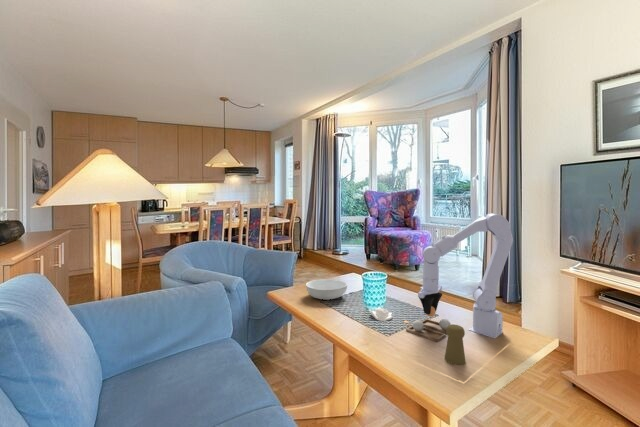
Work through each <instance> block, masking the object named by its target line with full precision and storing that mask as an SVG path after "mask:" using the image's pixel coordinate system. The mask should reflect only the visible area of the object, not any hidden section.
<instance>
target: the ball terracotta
mask: <svg viewBox="0 0 640 427" xmlns="http://www.w3.org/2000/svg"><path fill="white" fill-rule="evenodd" d="M436 313H437V310H436V311H435V308H434V307H432V306H431V312H430V314H429V315H428V314H425V315H426V316H427V317H434V316H435V315H436Z"/></svg>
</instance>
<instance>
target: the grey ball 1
mask: <svg viewBox="0 0 640 427" xmlns="http://www.w3.org/2000/svg"><path fill="white" fill-rule="evenodd" d="M421 321H422V320H419V319H417V320H415V321H413V323H412V324H413V325H412V326H413V328H414V330H416V331H418V332H420V331H422V330H423V329H424V324H423V322H421Z"/></svg>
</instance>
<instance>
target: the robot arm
mask: <svg viewBox="0 0 640 427" xmlns="http://www.w3.org/2000/svg"><path fill="white" fill-rule="evenodd" d="M478 232H479V233H481V232H490V233H491V234H492V236H493V238H494V240H495V244H494V247H493V249H492V253H491V255H490V257H489V260H488V263H487V266H486V269H485V272H484V275H483V277H482V279H481V281H480V282H479V283H478V286H477V287H476V288H475V289H474V290H473V291H472V297H473V299H474V303H473V307H472V327H470V328H468V329H467V331H470V332H473V333H476V334H479V335H483V336H486V337H489V338H492V339H496V338H498V337H499V336H500V335H502V334H503V333H504V331H503V328H504V327H503V325H504V324H503V319H504V317H503V313H502V312H501V311H499V310H497V309H496V306H497V299H496V298H497V294H498V284H499V281H500V279H501V276H502V274H503V270H504V267H505V265H506V262H507V259H508V257H509V255H510V251H511V248H512V246H513V243H514V238H513V233H512V229H511V223H510V222H509V220H507V218H506V217H505V216H504V215H502V214H498V213H493V212H490V213H487V214H485V215H484V216H481V217H479V218H477V219H475V220H474V221H473V222H471V223H469V224H468V225H466V226H465V227H463V228H462V229H461V230H459V231H458V232H456V233H455V234H453V235H452V234H451V235H450V234H447V235H441V238H440V239H439V240H437V241H436V242H435V243H433V242H431V244H430V246H429V245H428V246H427V247H426V246H425V248H424V249H423V251H422V256H423V266H422V286H420V288H419V289H420V291H418V292H417V297H418V298H419V301H420V303H421V306H422V309H423V312H424V314H425V315H426V314H428V315H429V314H430V312H431V306H432V307H434V308H435V311H436V312H437V309H438V305H439V302H440V300H441V298H442V296H443V293H442V291H443V286H442V285H440V284H439V276H440V275H439V272H440V271H439V270H440V269H439V268H440V266H439V260H440V258H441V257H444V256H445V255H447V254H449V253H451V252H452V251H454V250H456V249H457V248H458V245H459V243H460V242H462V241H464V240H465V239H467V238H469V237H471V236H473V235H474V234H476V233H478Z"/></svg>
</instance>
